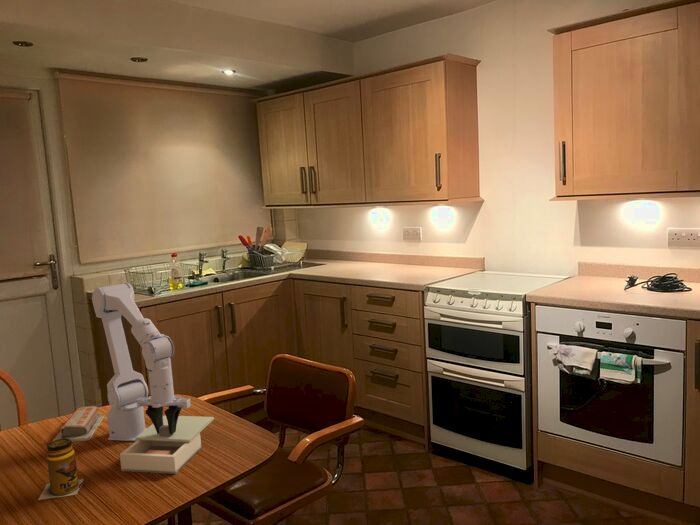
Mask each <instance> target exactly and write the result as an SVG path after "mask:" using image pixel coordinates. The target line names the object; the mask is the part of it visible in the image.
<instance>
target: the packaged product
mask: <svg viewBox="0 0 700 525" xmlns="http://www.w3.org/2000/svg"><path fill="white" fill-rule="evenodd" d="M104 416H106V414H105V413H103V414H99V407H98V406H96V405H88V406H80V407H77V408H76V409H75V410H74V412H73V413H72V414H71V415H70V417H69V418H68V419H67V420H66V421H65V423H64V424H63V425H62V427H61V429H60V431H59V433H58V434H57V435H56V436H55V437H54V438H53V440H52V441H54V440H57V439H61V438H68V439H70V440H71V441H72V443H77V442H86V441H90V440H91V439H92V437H93V435H94V433H96V431H97V429H98V428H99V427H100V425H101V423H102V422H101V421H103V420H104V419H103V418H105V417H104ZM98 426H99V427H98ZM97 427H98V428H97Z"/></svg>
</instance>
